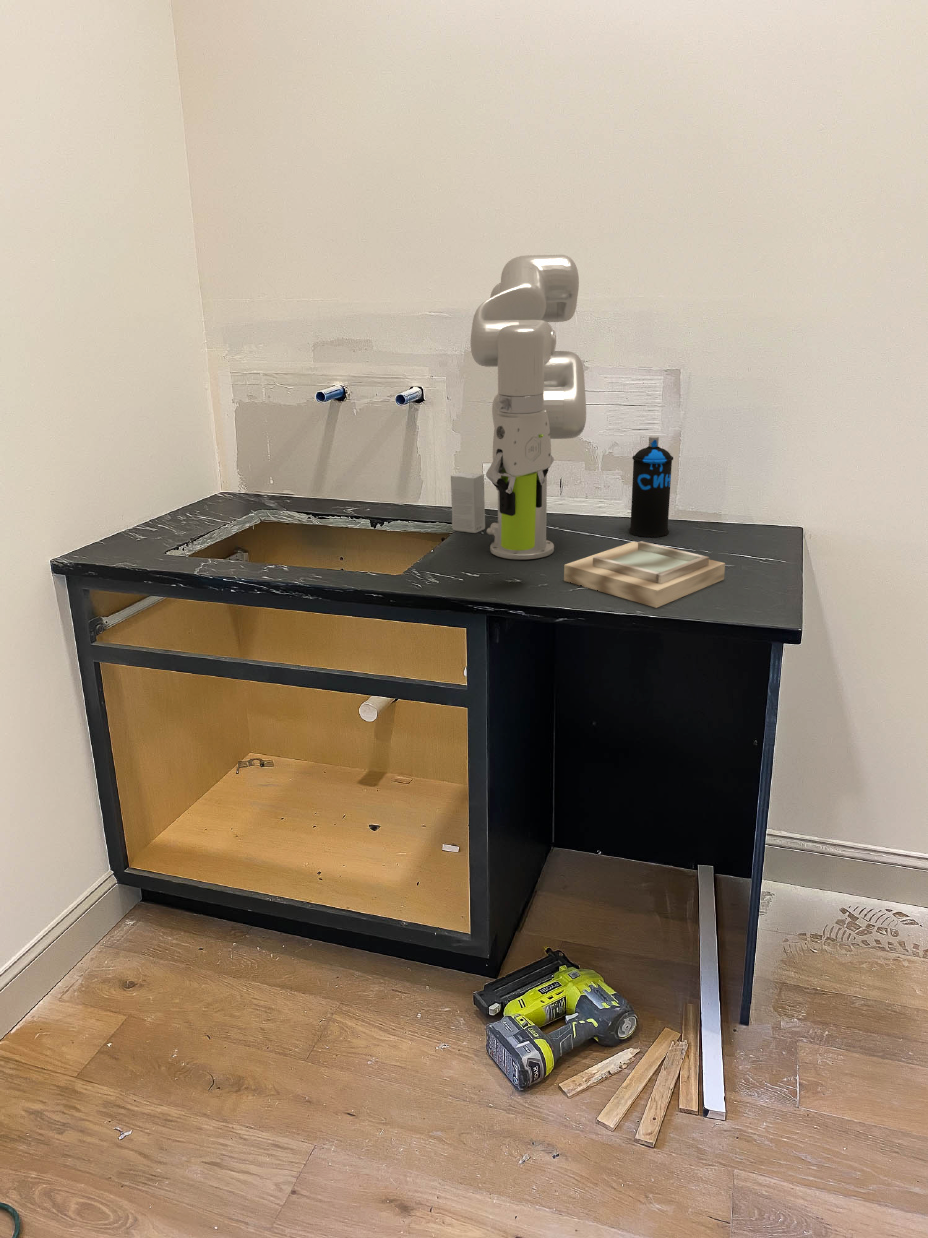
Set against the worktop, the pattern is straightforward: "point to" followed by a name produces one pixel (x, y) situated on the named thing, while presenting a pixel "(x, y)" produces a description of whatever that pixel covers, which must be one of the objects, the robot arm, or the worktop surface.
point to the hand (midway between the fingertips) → (520, 509)
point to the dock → (645, 573)
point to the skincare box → (468, 502)
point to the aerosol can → (651, 490)
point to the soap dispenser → (521, 515)
